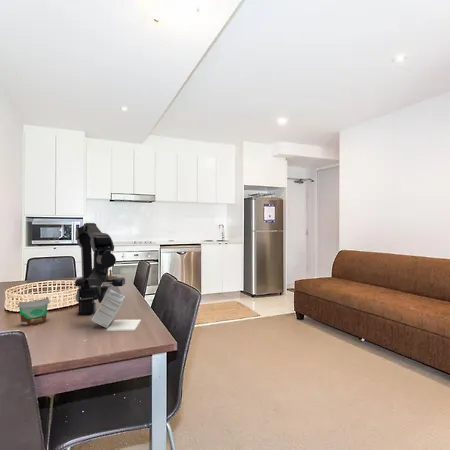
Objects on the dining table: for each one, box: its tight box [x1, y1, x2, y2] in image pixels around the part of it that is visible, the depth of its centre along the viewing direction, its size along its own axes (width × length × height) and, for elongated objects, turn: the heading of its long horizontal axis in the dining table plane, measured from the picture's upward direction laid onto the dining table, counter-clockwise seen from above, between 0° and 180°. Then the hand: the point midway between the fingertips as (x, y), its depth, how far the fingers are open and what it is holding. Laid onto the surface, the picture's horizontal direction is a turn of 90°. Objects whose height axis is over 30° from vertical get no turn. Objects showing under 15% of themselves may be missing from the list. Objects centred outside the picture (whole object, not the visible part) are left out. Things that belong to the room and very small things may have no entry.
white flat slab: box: [106, 319, 142, 332], centre depth 134 cm, size 11×13×1 cm
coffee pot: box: [105, 268, 123, 295], centre depth 181 cm, size 21×12×15 cm, turn 20°
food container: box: [17, 296, 50, 327], centre depth 135 cm, size 12×6×10 cm, turn 148°
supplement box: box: [90, 289, 126, 329], centre depth 133 cm, size 7×7×13 cm
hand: (100, 302), depth 133 cm, fingers closed
